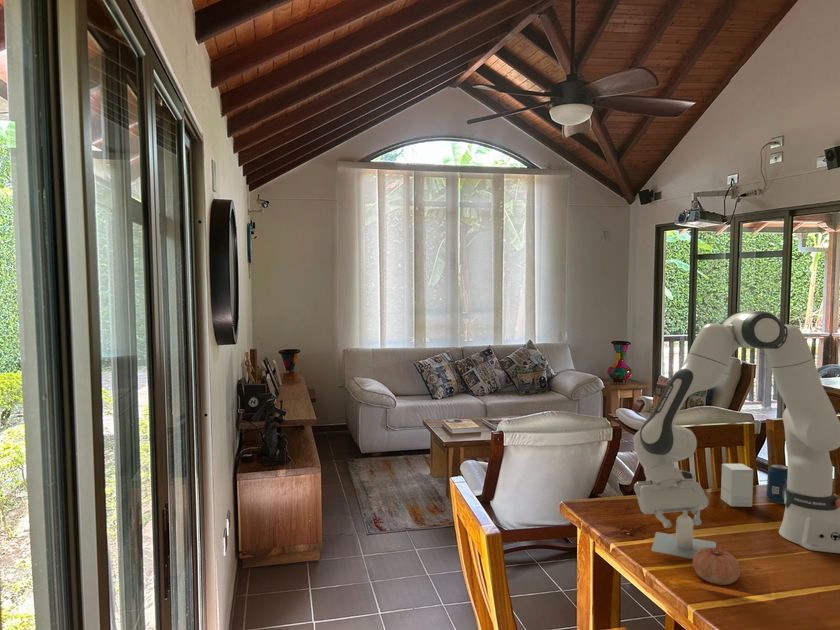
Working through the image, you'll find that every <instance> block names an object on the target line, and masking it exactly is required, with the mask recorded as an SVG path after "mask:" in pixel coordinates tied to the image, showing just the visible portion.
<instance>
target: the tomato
mask: <svg viewBox="0 0 840 630" xmlns="http://www.w3.org/2000/svg"><path fill="white" fill-rule="evenodd" d="M692 566H693V568H694V571H695V573H696V574H697V575H698V577H700V578H701V579H702V580H704V581H706V582H708V583H710V584H714V585H719V586H721V585H722V586H726V585H731V584H733V583H735V582H736V581H737V580H738V579H739V577H740V575H741V565H740V562H739V561H738V560H737V558H736V557H735V556H734V555H733V554H732V553H730V552H729V551H726V550H723V549H721V548H717V547H716V548H703V549H701V550H700V551H698V552H697V553H696V554H695V556H694V558H693V559H692Z"/></svg>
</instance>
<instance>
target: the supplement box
mask: <svg viewBox="0 0 840 630" xmlns="http://www.w3.org/2000/svg"><path fill="white" fill-rule="evenodd" d="M720 486H721V487H720V499H721V500H722V501H723V502H724V503H726V504H727V505H729V506H730V507H743V508H744V507H753V495H754V493H753V491H754V490H753V489H754V469H752V468H751V467H749V466H747V465H746V464H744V463H722V464H721V485H720Z"/></svg>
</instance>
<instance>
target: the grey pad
mask: <svg viewBox="0 0 840 630" xmlns="http://www.w3.org/2000/svg"><path fill="white" fill-rule="evenodd" d="M703 548H717V543H716V542H715V541H710V540H705V539H701V538H700V539H699V538H694V537H693V549H691V550H683V549H680V548H678V547H676V534H671V533H664V532H659V531H655V533H654V539H653V542H652V546H651V551H650V552H655V553H660V554H665V555H670V556H675V557H676V556H677V557H680V558H686V559H690V560H693V558H694V556H695V554H696V553H697V552H698V551H700V550H701V549H703Z"/></svg>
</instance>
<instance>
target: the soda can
mask: <svg viewBox="0 0 840 630" xmlns="http://www.w3.org/2000/svg"><path fill="white" fill-rule="evenodd" d="M787 477H788V465H786V464H782V463H770V464H769V467H768V469H767V482H766V484H767V485H766V496H767V498H768V500H769V501H770V502H773V503H777V504H785V503H784V495H785V487H786V486H787Z"/></svg>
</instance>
